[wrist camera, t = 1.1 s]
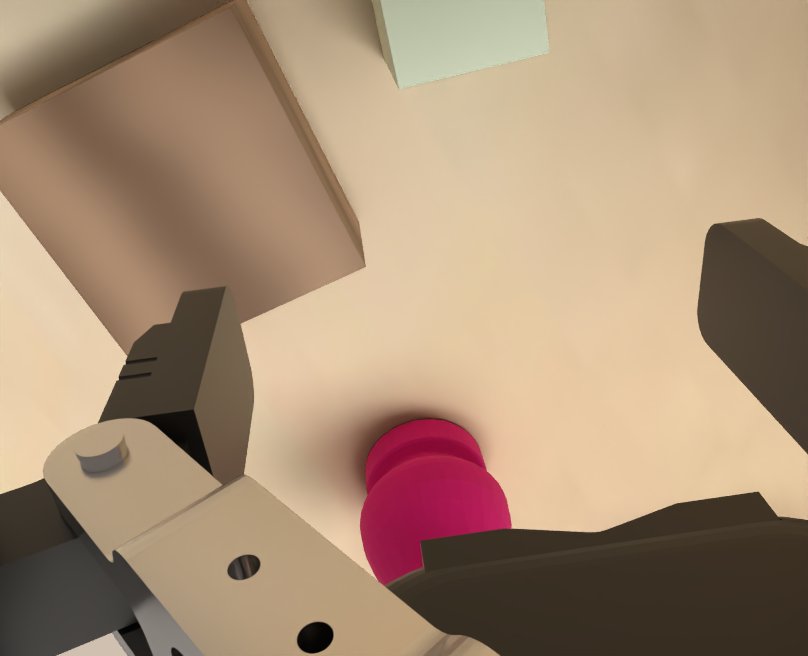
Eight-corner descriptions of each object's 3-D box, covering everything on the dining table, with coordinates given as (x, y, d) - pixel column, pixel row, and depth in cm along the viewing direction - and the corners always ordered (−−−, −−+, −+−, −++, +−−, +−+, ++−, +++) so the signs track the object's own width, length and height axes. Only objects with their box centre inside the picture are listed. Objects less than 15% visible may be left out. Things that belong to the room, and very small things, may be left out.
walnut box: (243, -6, 28) (230, 7, 23) (358, 220, 32) (365, 267, 28) (17, 109, 29) (-36, 143, 24) (161, 311, 33) (138, 370, 29)
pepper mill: (358, 409, 37) (397, 846, 19) (498, 409, 38) (655, 825, 20) (353, 517, 40) (382, 970, 23) (481, 514, 41) (603, 947, 24)
